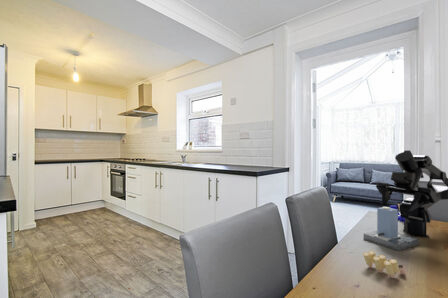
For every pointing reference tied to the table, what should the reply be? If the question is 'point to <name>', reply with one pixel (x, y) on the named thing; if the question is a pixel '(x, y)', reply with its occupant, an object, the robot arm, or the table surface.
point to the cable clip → (398, 214)
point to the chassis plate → (396, 244)
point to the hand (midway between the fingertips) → (395, 207)
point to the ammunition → (383, 264)
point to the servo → (387, 224)
